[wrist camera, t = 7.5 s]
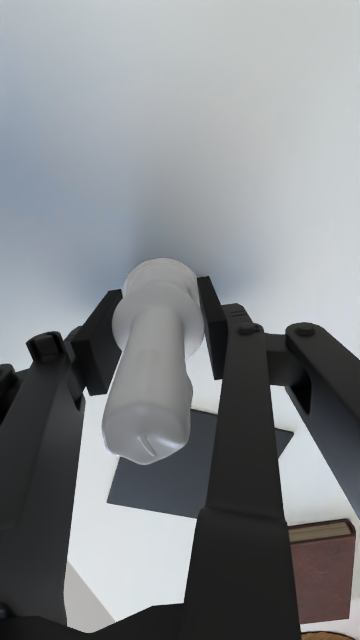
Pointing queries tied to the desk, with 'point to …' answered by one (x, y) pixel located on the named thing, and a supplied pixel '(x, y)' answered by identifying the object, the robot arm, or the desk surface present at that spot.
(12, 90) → the desk surface
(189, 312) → the candle
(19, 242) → the desk surface
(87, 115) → the desk surface
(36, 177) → the desk surface
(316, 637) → the ceramic pot
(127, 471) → the mat
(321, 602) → the notebook
